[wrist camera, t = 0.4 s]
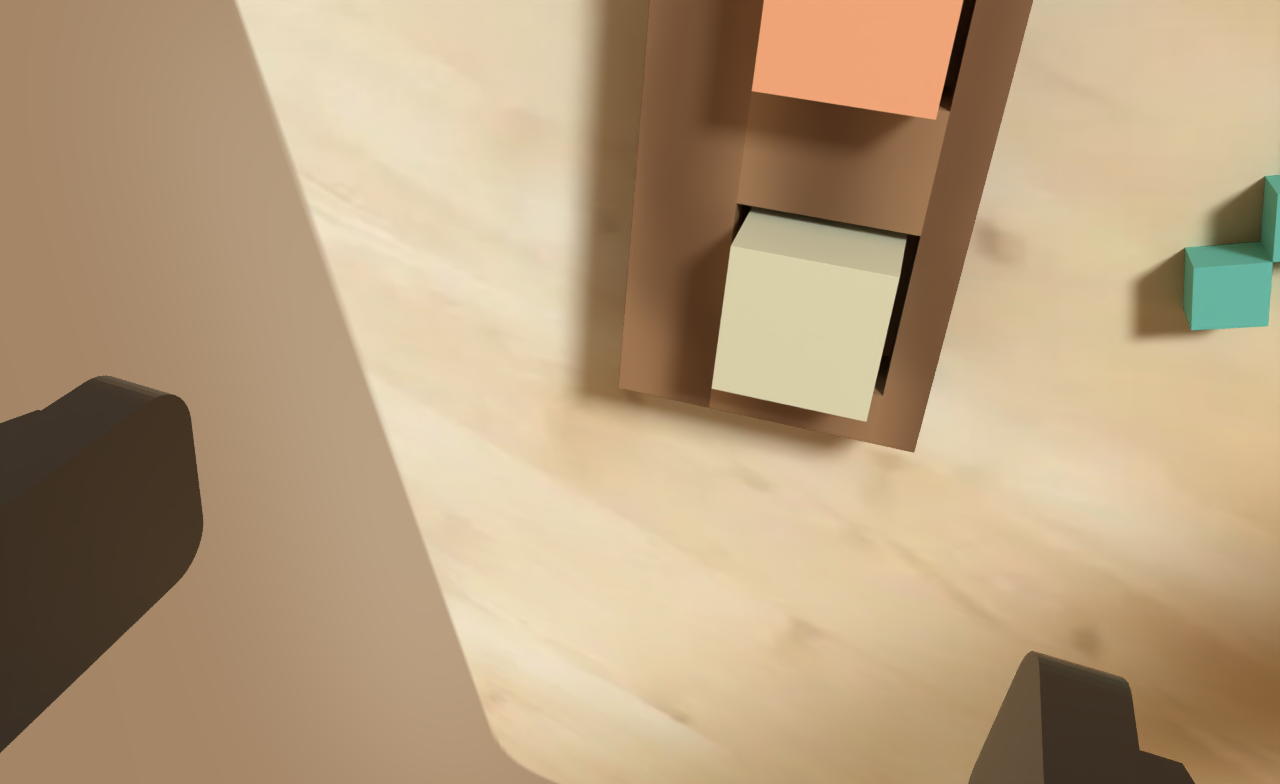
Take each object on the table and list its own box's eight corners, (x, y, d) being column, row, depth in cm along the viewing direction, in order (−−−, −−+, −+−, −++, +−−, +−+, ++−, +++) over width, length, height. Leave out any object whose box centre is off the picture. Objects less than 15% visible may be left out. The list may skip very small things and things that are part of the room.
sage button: (908, 229, 35) (899, 277, 32) (877, 365, 38) (866, 421, 34) (754, 202, 36) (730, 245, 33) (735, 336, 39) (711, 388, 35)
